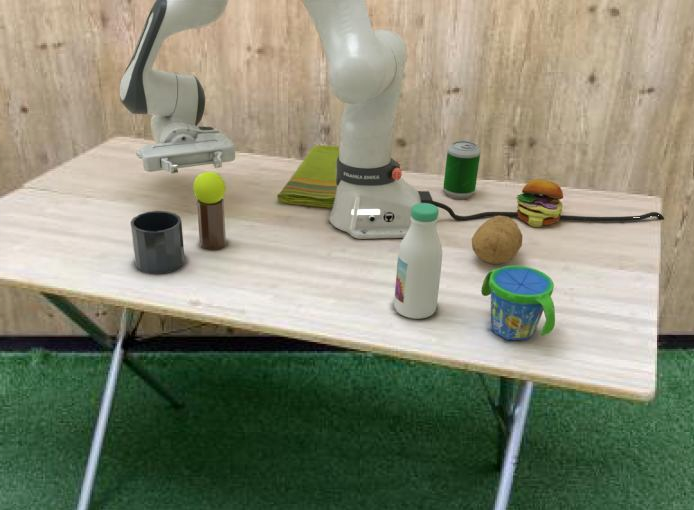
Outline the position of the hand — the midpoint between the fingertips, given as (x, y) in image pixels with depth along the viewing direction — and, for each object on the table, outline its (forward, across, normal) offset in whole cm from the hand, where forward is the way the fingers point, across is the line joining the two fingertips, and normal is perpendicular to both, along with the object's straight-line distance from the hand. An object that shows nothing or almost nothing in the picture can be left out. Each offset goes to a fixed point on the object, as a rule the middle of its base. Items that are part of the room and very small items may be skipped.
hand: (196, 167), depth 165 cm
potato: (+36, +52, +13) cm, 65 cm away
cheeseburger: (+22, +72, +13) cm, 76 cm away
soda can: (+5, +62, +13) cm, 63 cm away
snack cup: (+60, +40, +13) cm, 74 cm away
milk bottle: (+48, +28, +13) cm, 57 cm away
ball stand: (+10, 0, +13) cm, 17 cm away
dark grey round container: (+14, -12, +13) cm, 23 cm away
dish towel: (-15, +36, +13) cm, 41 cm away
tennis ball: (+10, 0, +1) cm, 10 cm away
